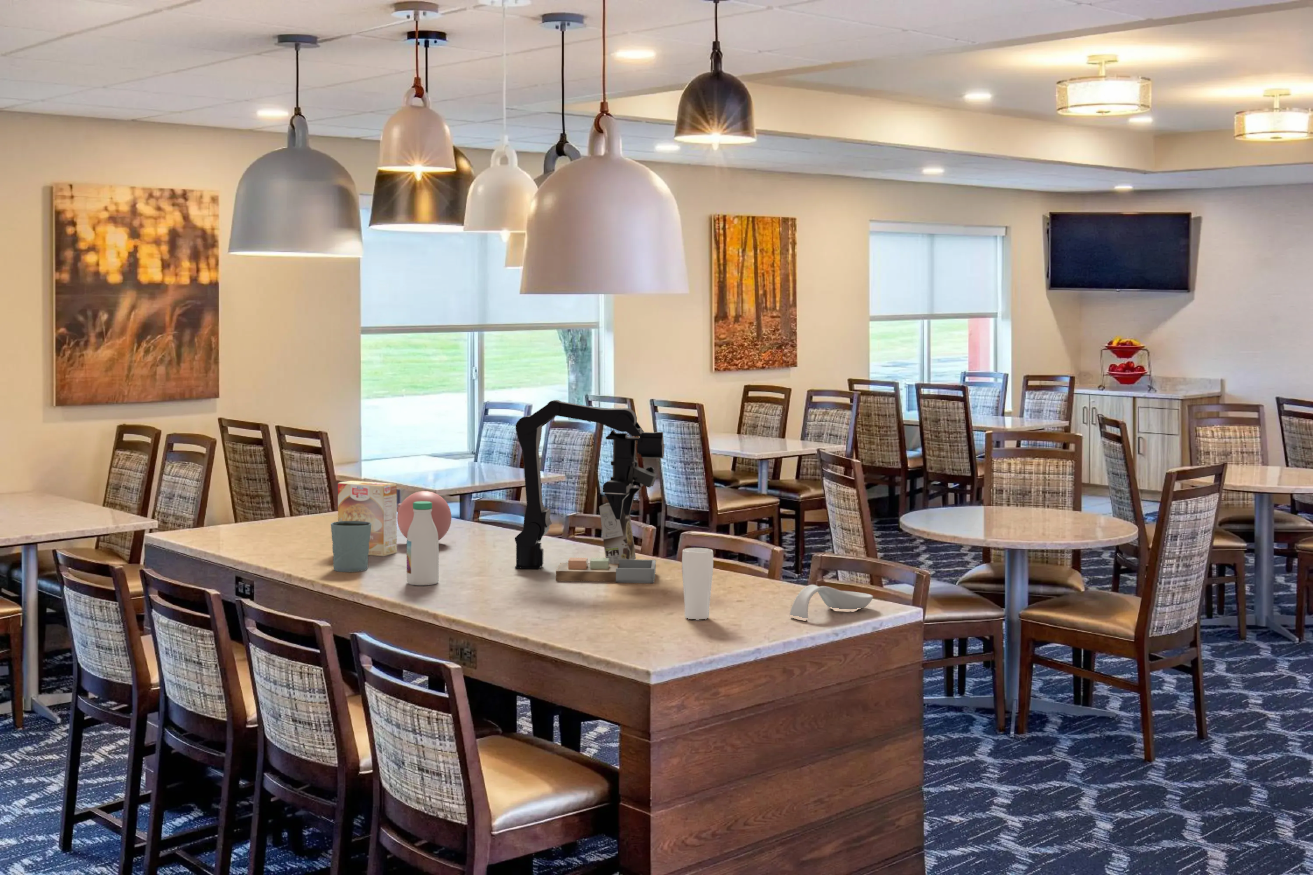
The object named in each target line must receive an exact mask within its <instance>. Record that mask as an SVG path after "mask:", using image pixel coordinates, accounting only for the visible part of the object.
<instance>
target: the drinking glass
mask: <svg viewBox="0 0 1313 875" xmlns="http://www.w3.org/2000/svg"><path fill="white" fill-rule="evenodd" d="M681 554H682V555H681V572H682V573H681V574H682V575H681V576H682V585H683V586H682V587H683V602H684V617H685V619H687V618H688V619H687V620H689V619H696V620H695V621H700V620H699V619H705V620H708V619H709V617H710V605H711V604H710V603H711V594H712V592H711V591H712V586H713V584H712V583H713V574H714V573H713V572H714V551H713V549H711V548H706V547H688V548H683V549H682V553H681ZM707 618H708V619H707Z"/></svg>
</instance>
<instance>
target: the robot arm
mask: <svg viewBox="0 0 1313 875" xmlns="http://www.w3.org/2000/svg"><path fill="white" fill-rule="evenodd" d="M555 417H561V418H562V417H563V418H566V419H567V418H568V419H573V420H580V421H586V422H590V423H596V424H597V423H598V424H600V425H603V426H605V427H608V428H609V429H612V430H611V431H610V432H609V433H608V434H607V436H605V439H606V440H608V441H609V440H612V441H613V444H612V460H611V461H610V466H612V476H611V477H610V480H607V481H605V482H604V484H602V493H604V496H605V498H606V500H607V503H609V504H610V506H611V508H612V511H613V513H614V516H615V518H616V519H617V520H620V519H621V514H622V508H623V509H624V513H625V515H629V514H630V515H631V511H632V506H633V502H634V499H635V495H636V494H638V492H639V491H641V490H642V487H647V488H651V487H653V486H654V484H655V481H656V480H657V479H658V473H656V469H655V467H653V466H648V467H647V468H643V467H640V466H639V462H638V460H636V453H637V454H638V455H640V457H641V458H643V459H664V456H665V447H666V446H665V442H664V440H665V439H664V432H663V431H656V432H652V431H650V432H648V431H646V432H645V431H644V430H643V428H642V427H641V425H640V424H639V422H638V417H637V414H636V412H634V410H633V409H631V408H626V407H624V408H623V407H620V408H619V407H618V408H615V407H614V408H599V407H596V406H595V407H594V406H589V405H582V404H578V403H577V404H576V403H571V402H567V401H561V400H560V399H559V400H558V399H554V400H550V401H549V402H548V403H547V404H546V405H544V406H543V407H541V408H539V409H538V410H537V411H536V412H534V413H533V414H530V415H525V416H522V417H520V418H519V419H518V420H517V422H516V423H515V432H516V436H517V439H518V440H517V442H518V443H519V445H520V448H521V451H522V460H523V471H524V486H525V499H526V505H525V506H526V507H525V511H524V516H523V526H522V531H521V532H520V533H518V534H517V535H516V536H515V537H514V541H515V544H516V545H515V546H516V547H515V549H516V550H515V562H516V563H515V565H514V569H530V570H531V569H537V570H539V569H541V568H542V566H543V565H544V556H545V555H544V551H545V550H544V548H543V547H542V542H541V541H542V538H543V537H544V536H546V534H548V532H549V529H550V526H551V525H552V519H551V508H548V509H547V508H545V505H544V503H543V502H544V501H543V492H542V491H543V490H542V489H543V488H542V477H541V462H540V452H539V451H540V445H541V441H542V432H543V427H544V426H545V425H546V424H548V423H549V422H551V421H552V420H553V419H554V418H555ZM615 430H616V431H619V432H616V431H615ZM621 432H622V433H621ZM628 434H629V435H630V436H628Z"/></svg>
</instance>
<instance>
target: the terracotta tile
mask: <svg viewBox="0 0 1313 875" xmlns="http://www.w3.org/2000/svg"><path fill="white" fill-rule="evenodd" d="M588 559H589V558H588V557H569V558H568V562H567V563H568V568H571V569H586V568H587V566H588V563H589V562H588V561H589V560H588Z"/></svg>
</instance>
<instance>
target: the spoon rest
mask: <svg viewBox="0 0 1313 875" xmlns="http://www.w3.org/2000/svg"><path fill="white" fill-rule="evenodd" d="M816 593H818V595H819V597H820V598H821V600H822V601H823V603H824V604H825V605H826V607H828V608H829V607H832V608H839V609H857V608H863V609H865V608H866V607H868V606H869V604H870V603H871V602H872V600H873V598H874V595H872V594H869V593H865V592H858V591H857V592H856V591H849V590H839V589H837V588H833V587H831V586H825V585H821V586H818V585H817V584H808V585H807V586H805V587H804V588H802V589H801V590H800V591H799V593H798V594H797V595H796V597H795V598H794V601H793V603H792V605H791V608H790V612H789V616H790V615H793V616H799V617H802V618H808V619H809V605H810V601H811V598H812V597H813V596H814V595H815V594H816ZM864 607H865V608H864Z"/></svg>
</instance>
